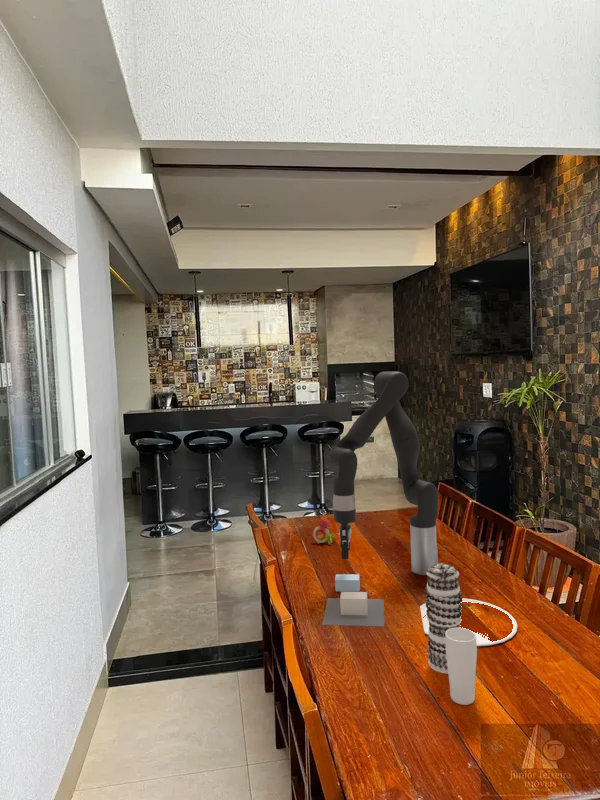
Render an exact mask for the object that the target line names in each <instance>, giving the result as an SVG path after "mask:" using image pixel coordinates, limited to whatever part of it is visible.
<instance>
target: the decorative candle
mask: <svg viewBox="0 0 600 800" xmlns="http://www.w3.org/2000/svg"><path fill="white" fill-rule="evenodd" d="M426 574H427V575H426V576H427V583H426V587H424V594H425V596H424V598H425V600H424V601H425V603H426V607H427V610H426V612H427V613H426V614H427V619H428V621H429V629H428V631H429V634H428V635H427V640H428V641H427V646H428V648H427V654H428V655H427V659H428V662H427V663H428V666H429V667H430V668H431V669H432V670H433V671H435V672H437V673H442V674H448V667H447V659H446V649H445V633H446V631H447V630H448V629H450V628H456V627H460V623H461V621H462V619H461V616H462V612H461V610H462V606H461V605H460V603H461V602H462V596H463V592H462V591H461V589H460V588H461V587H460V584H459V581H460V578H459V576H460V572H459V571H458V570H456V569H455V567H454V566H453V565H451V564H448V563H438V564H434V565H432V566H431V567H430V569H428V570H427V571H426ZM428 606H429V607H428Z"/></svg>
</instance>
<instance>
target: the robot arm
mask: <svg viewBox="0 0 600 800" xmlns="http://www.w3.org/2000/svg"><path fill="white" fill-rule="evenodd" d="M373 383H374V391H375V394H376V396H377V399H376V400H375V402H373V404H372V405H371V406H369V407H368V408H367V409H366V410H365V411H364V412H362V414H360V415H359V416H358V417H357V419H356V420H355V421H354V422H353V424H352V426H351V427H350V429H349V430H348V431H347V433H346V434H345V435H344V436H343V437H342V438H341V439H340V440H339V441H338V442H337V443H336V444H335V445H334V446H333V448H331V450H330V452H329V456H328V457H329V458H328V460H329V463H330V465H331V466H333V467H334V468H337V469H338V474H337V476H335V477H334V478H333V483H332V484H333V485H332V486H333V488H332V489H333V498H332V505H333V508H332V509H333V510H332V511H333V521H334V522H335V523H337V524H340V525H339V527H338V532H339V542H340V546H339V547H340V549H341V560H348V559H349V557H350V556H349V554H350V553H349V551H350V550H351V544H350V543H351V536H352V525H351V524H353V523H355V522H356V521H357V505H356V494H355V479H356V475H357V470H358V457H357V454H356V453H355V451H356V450H358V449H362V448H363V447H364V446H365V445H366V443H367V442H368V440H369V439H370V437H371V436H372V434H373V433H374V431H375V430H376V428H377V427H378V426H379V424H380V423H381V421H382V420H383V419H384V418H385V421H386V425H387V427H388V428H387V429H388V431H389V435H390V440H391V443H392V446H393V450H394V453H395V456H396V459H397V463H398V469H399V472H400V476H401V477H400V478H401V482H402V489H403V494H404V497H405V499H406V500H407V502H409V504H412V505H413V506H414V505H415V506H417V512H416V514H413V515H411V516H410V518H409V527H410V528H409V531H410V533H409V535H410V557H411V559H410V560H411V561H410V563H411V572H412V573H414V574H417V575H420V576H428V575H427V574H426V571H427V570H428V569H430V567H431V566H432V565H434V564H439V557H438V555H439V554H438V553H439V552H438V545H437V519H438V515H439V491H438V489H437V486H436V485H435V484H434V483H432V482H429V481H426V480H422V479H421V477H420V475H419V471H418V467H417V465H418V464H417V462H418V459H419V456H420V455H419V454H420V450H421V449H420V447H421V445H420V440H419V436H418V432H417V430H416V427H415V426H414V424H413V421H412V420H411V419H410V418H409V416H408V415H407V414H406V412H405V411H404V410H403V409H404V408H402V405H401V402H400V400H401V399H402V398H403V397H404V395H405V394H406V393H407V391H408V389H409V385H410V384H409V378H408V377H407V375H406V374H405V373H404V372H401V371H380V372H379V373H378V374H377V375H376V376H375V379H374V382H373Z"/></svg>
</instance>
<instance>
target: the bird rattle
mask: <svg viewBox="0 0 600 800" xmlns="http://www.w3.org/2000/svg"><path fill="white" fill-rule="evenodd" d="M318 523H319V524H320V525H317V526H316V527H315V528H314V529H313V533H312V536H313V539H314V541H316V542H317V544H318V545H319V544H321V543H326V542H327V544H328V545H331V544H332V543H333V540H334V537H335V536H336V535H335V534H334V533H330V530H329V529H328V528H330V527H331V524H330V519H329V520H328V519H327V520H326V519H319V520H318Z"/></svg>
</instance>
